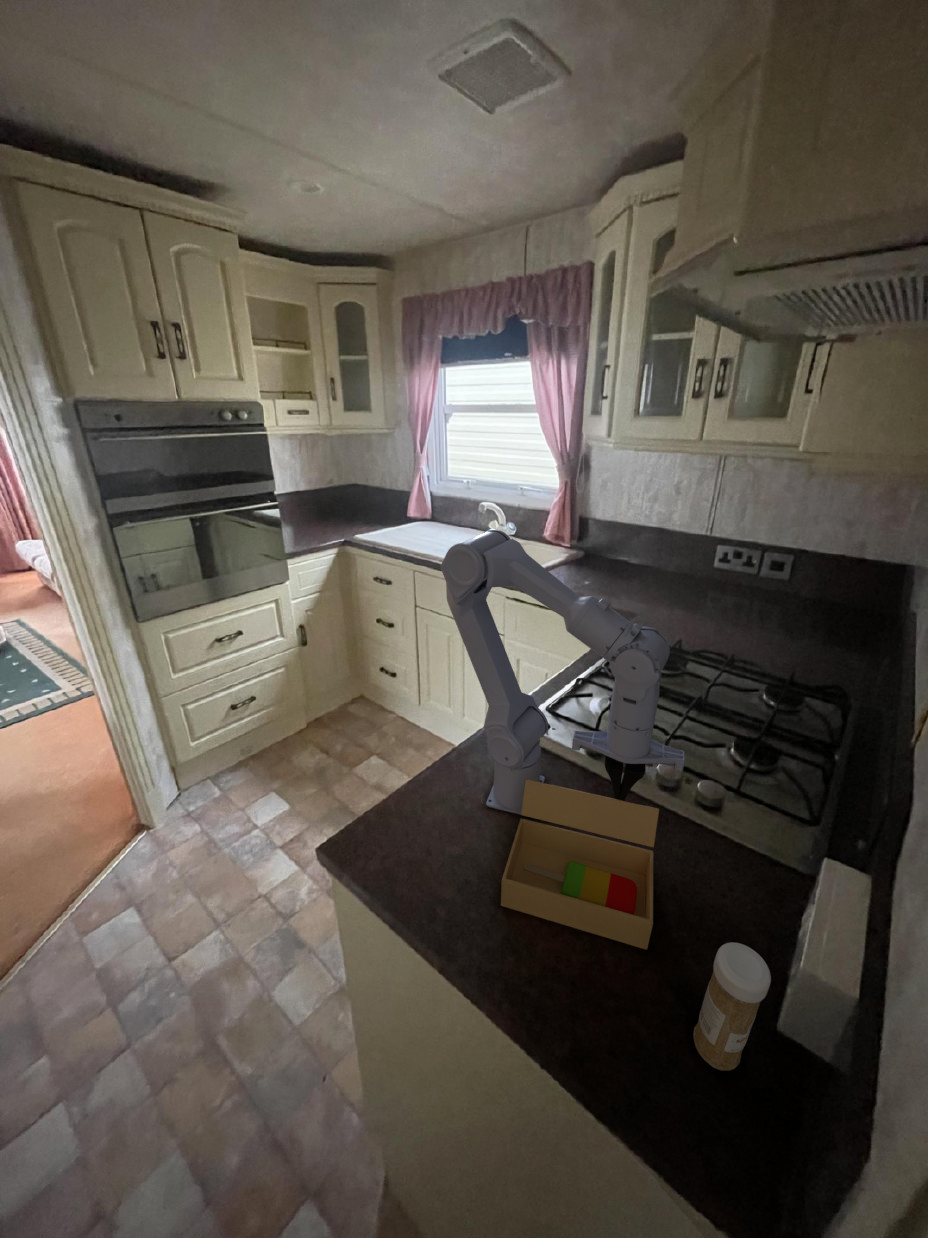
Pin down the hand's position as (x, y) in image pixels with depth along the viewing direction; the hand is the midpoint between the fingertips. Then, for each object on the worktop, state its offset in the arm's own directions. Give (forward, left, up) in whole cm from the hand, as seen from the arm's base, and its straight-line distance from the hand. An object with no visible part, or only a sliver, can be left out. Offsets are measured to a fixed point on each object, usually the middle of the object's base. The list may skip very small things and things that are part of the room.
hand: (619, 796), depth 74 cm
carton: (+10, -4, -8) cm, 14 cm away
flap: (+4, -4, 0) cm, 6 cm away
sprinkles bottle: (+24, +12, -9) cm, 28 cm away
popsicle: (+10, -4, -8) cm, 14 cm away
